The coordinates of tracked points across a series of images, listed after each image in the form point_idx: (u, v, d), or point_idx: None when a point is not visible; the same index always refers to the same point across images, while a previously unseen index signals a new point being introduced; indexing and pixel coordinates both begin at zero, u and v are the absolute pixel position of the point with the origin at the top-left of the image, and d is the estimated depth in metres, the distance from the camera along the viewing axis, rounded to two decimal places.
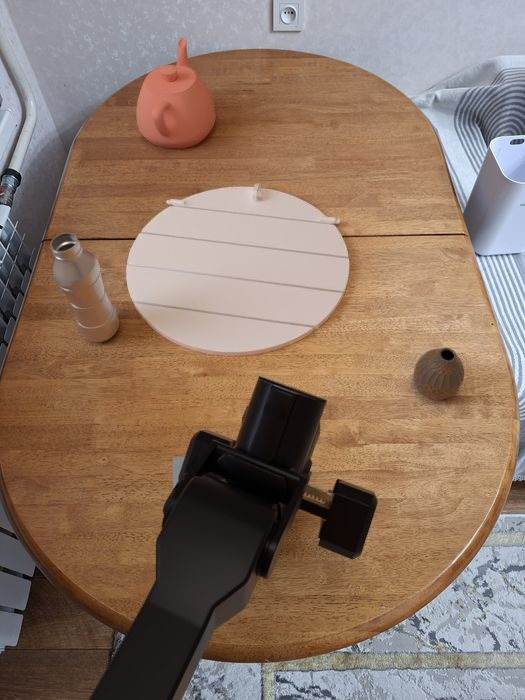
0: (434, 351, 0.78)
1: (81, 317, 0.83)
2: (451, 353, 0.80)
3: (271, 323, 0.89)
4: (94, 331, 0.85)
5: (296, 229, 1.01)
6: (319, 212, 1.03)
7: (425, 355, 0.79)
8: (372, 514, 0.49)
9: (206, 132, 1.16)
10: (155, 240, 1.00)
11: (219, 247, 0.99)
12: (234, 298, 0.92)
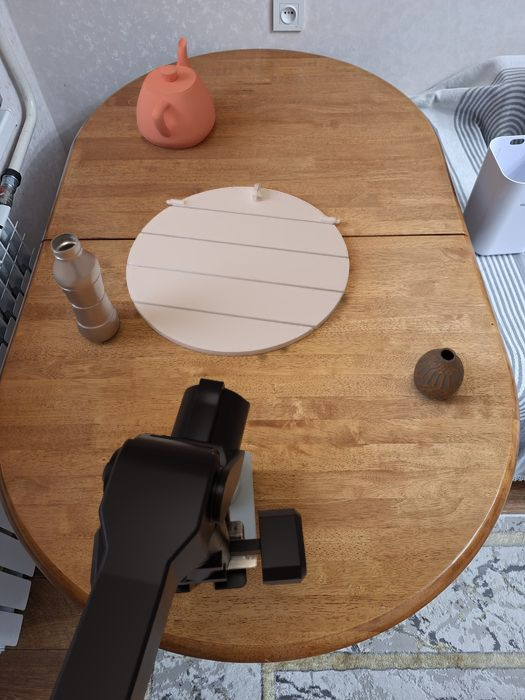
0: (434, 351, 0.78)
1: (82, 317, 0.83)
2: (451, 353, 0.80)
3: (271, 323, 0.89)
4: (94, 331, 0.85)
5: (296, 229, 1.01)
6: (319, 212, 1.03)
7: (425, 355, 0.79)
8: (300, 523, 0.49)
9: (206, 132, 1.16)
10: (155, 240, 1.00)
11: (219, 247, 0.99)
12: (234, 298, 0.92)
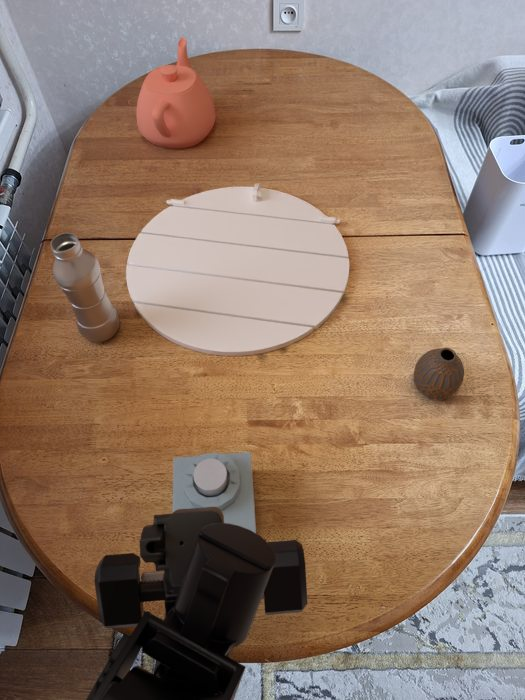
0: (434, 351, 0.78)
1: (82, 317, 0.83)
2: (451, 353, 0.80)
3: (271, 323, 0.89)
4: (94, 331, 0.85)
5: (296, 229, 1.01)
6: (319, 212, 1.03)
7: (425, 355, 0.79)
8: (304, 569, 0.49)
9: (206, 132, 1.16)
10: (155, 240, 1.00)
11: (219, 247, 0.99)
12: (234, 298, 0.92)
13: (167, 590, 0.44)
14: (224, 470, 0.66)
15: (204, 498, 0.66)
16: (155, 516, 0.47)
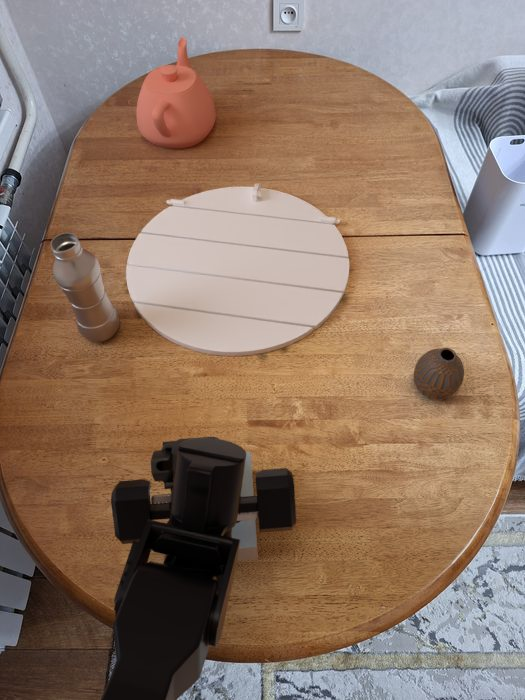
0: (434, 351, 0.78)
1: (82, 317, 0.83)
2: (451, 353, 0.80)
3: (271, 323, 0.89)
4: (94, 331, 0.85)
5: (296, 229, 1.01)
6: (319, 212, 1.03)
7: (425, 355, 0.79)
8: (293, 491, 0.56)
9: (206, 132, 1.16)
10: (155, 240, 1.00)
11: (219, 247, 0.99)
12: (234, 298, 0.92)
13: None
14: None
15: None
16: (164, 442, 0.54)
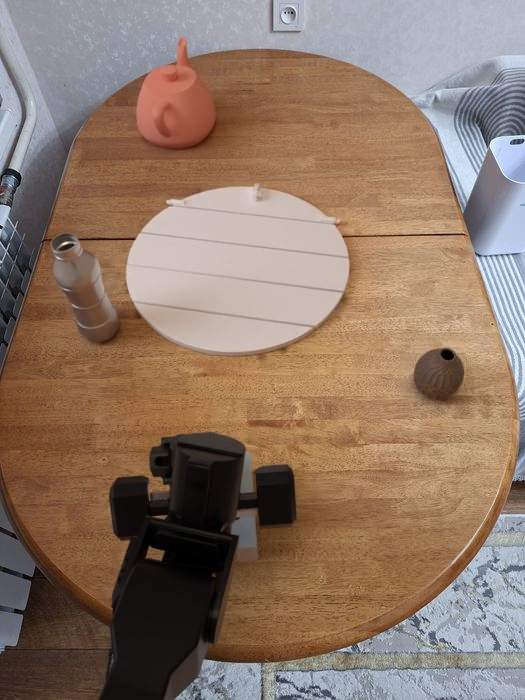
0: (434, 351, 0.78)
1: (82, 317, 0.83)
2: (451, 353, 0.80)
3: (271, 323, 0.89)
4: (94, 331, 0.85)
5: (296, 229, 1.01)
6: (319, 212, 1.03)
7: (425, 355, 0.79)
8: (293, 487, 0.55)
9: (206, 132, 1.16)
10: (155, 240, 1.00)
11: (219, 247, 0.99)
12: (234, 298, 0.92)
13: None
14: None
15: None
16: (162, 438, 0.53)
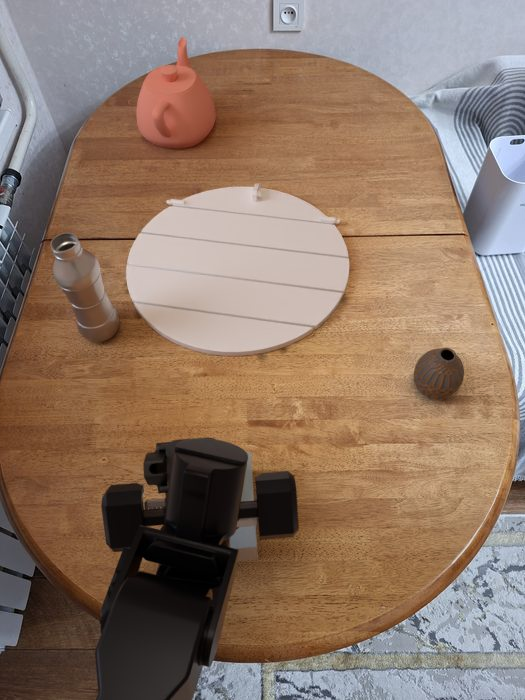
0: (434, 351, 0.78)
1: (82, 317, 0.83)
2: (451, 353, 0.80)
3: (271, 323, 0.89)
4: (94, 331, 0.85)
5: (296, 229, 1.01)
6: (319, 212, 1.03)
7: (425, 355, 0.79)
8: (295, 495, 0.53)
9: (206, 132, 1.16)
10: (155, 240, 1.00)
11: (219, 247, 0.99)
12: (234, 298, 0.92)
13: None
14: None
15: None
16: (157, 443, 0.50)
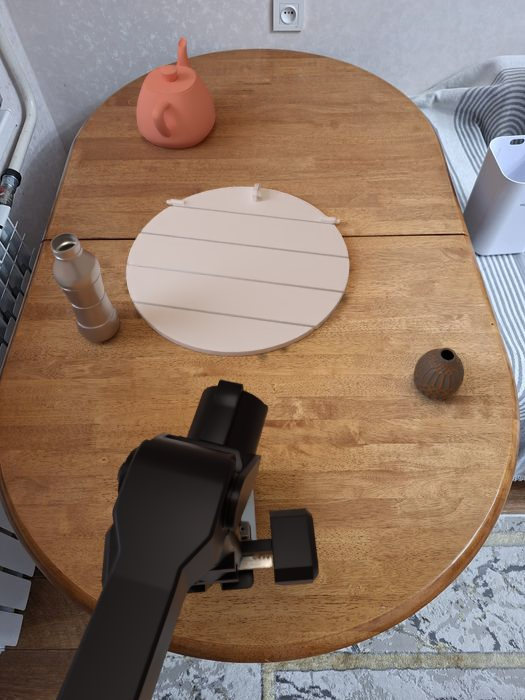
0: (434, 351, 0.78)
1: (82, 317, 0.83)
2: (451, 353, 0.80)
3: (271, 323, 0.89)
4: (94, 331, 0.85)
5: (296, 229, 1.01)
6: (319, 212, 1.03)
7: (425, 355, 0.79)
8: (312, 523, 0.49)
9: (206, 132, 1.16)
10: (155, 240, 1.00)
11: (219, 247, 0.99)
12: (234, 298, 0.92)
13: None
14: None
15: None
16: None
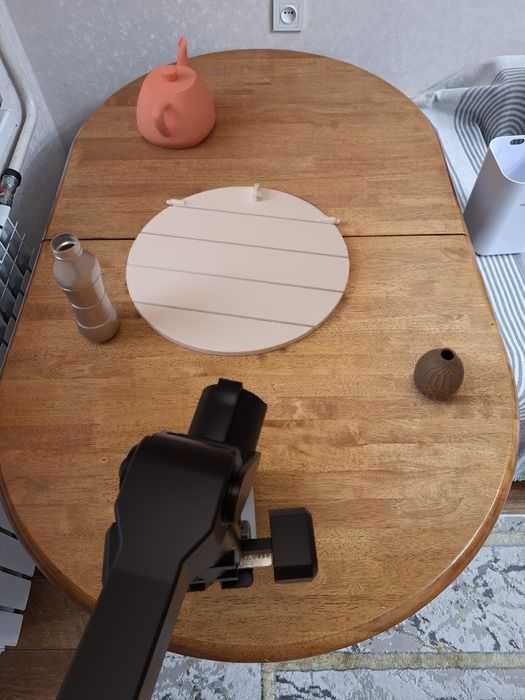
0: (434, 351, 0.78)
1: (82, 317, 0.83)
2: (451, 353, 0.80)
3: (271, 323, 0.89)
4: (94, 331, 0.85)
5: (296, 229, 1.01)
6: (319, 212, 1.03)
7: (425, 355, 0.79)
8: (311, 522, 0.49)
9: (206, 132, 1.16)
10: (155, 240, 1.00)
11: (219, 247, 0.99)
12: (234, 298, 0.92)
13: None
14: None
15: None
16: None
